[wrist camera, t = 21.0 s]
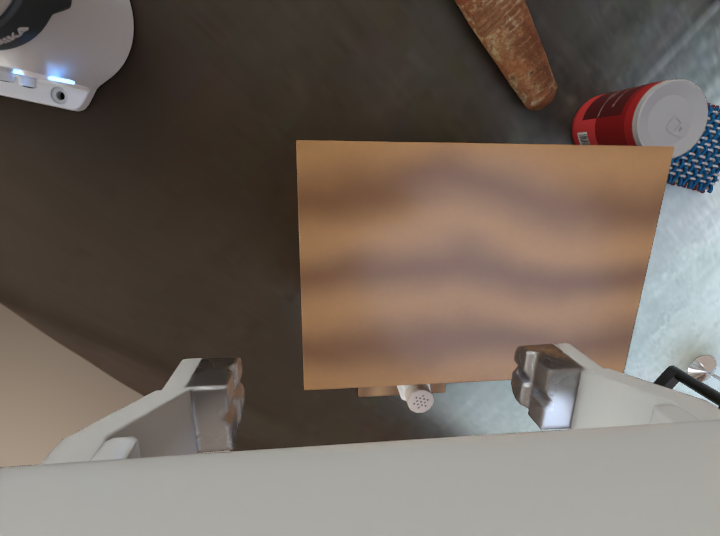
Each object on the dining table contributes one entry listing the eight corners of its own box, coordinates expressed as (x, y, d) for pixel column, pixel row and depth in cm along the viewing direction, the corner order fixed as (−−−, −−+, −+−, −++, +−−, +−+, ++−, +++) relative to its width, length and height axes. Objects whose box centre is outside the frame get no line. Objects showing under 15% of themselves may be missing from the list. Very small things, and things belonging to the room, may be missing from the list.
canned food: (611, 166, 51) (687, 168, 41) (559, 149, 50) (623, 146, 39) (637, 106, 49) (723, 92, 39) (583, 86, 48) (658, 66, 37)
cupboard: (498, 285, 54) (623, 374, 32) (309, 289, 51) (304, 390, 29) (513, 151, 49) (675, 146, 27) (306, 148, 46) (296, 140, 24)
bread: (477, -59, 42) (501, -90, 37) (554, 95, 48) (584, 87, 43) (430, -22, 43) (447, -48, 38) (511, 126, 48) (535, 122, 43)
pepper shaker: (414, 345, 55) (433, 383, 46) (420, 369, 56) (439, 410, 47) (387, 353, 55) (401, 392, 46) (393, 377, 56) (408, 419, 47)
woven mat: (736, 113, 51) (752, 112, 49) (701, 193, 54) (715, 195, 52) (669, 93, 49) (683, 91, 47) (636, 177, 52) (648, 178, 50)
